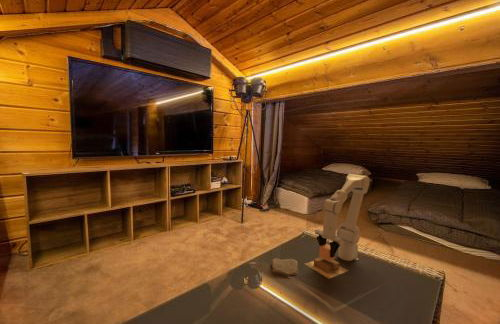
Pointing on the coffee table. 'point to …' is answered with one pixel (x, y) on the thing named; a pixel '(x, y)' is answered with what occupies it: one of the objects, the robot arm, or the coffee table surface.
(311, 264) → the plate
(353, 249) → the robot arm
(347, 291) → the coffee table surface
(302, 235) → the coffee table surface
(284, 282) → the coffee table surface
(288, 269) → the stone block
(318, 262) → the walnut slab
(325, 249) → the terracotta cube
